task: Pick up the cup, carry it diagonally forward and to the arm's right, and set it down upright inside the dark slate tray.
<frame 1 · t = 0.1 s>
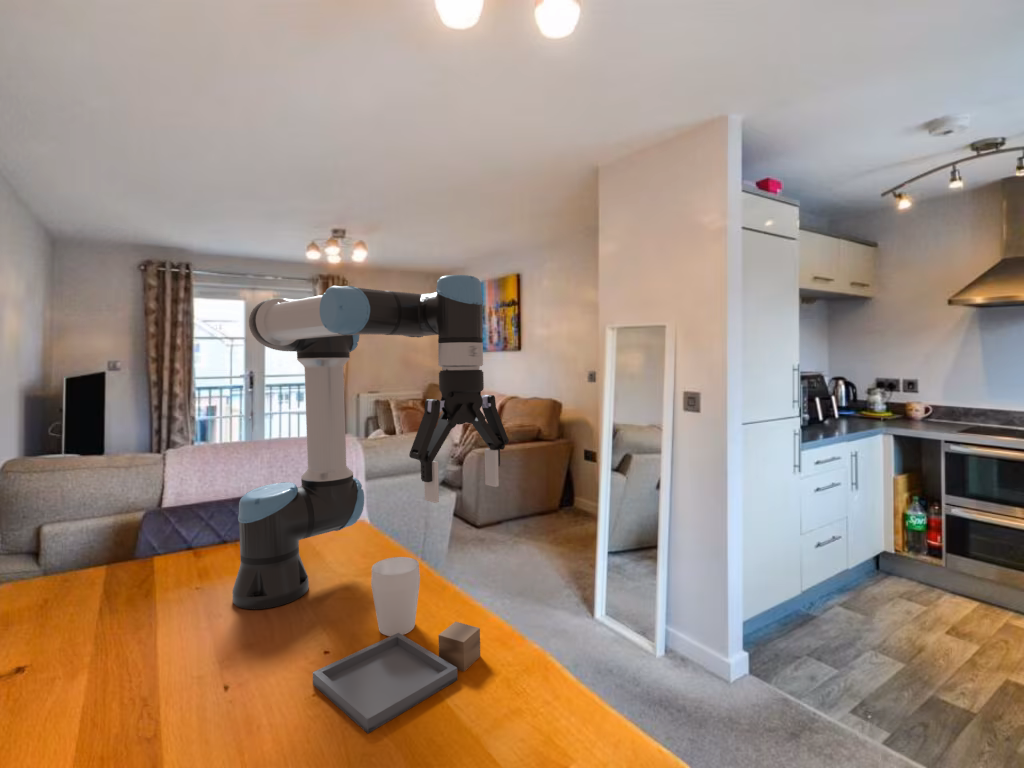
hand: (463, 493, 89), 28 cm above the table, fingers open, 13 cm apart
walnut cube: (460, 660, 88), on the table
cup: (397, 628, 99), on the table
tray: (385, 682, 82), on the table
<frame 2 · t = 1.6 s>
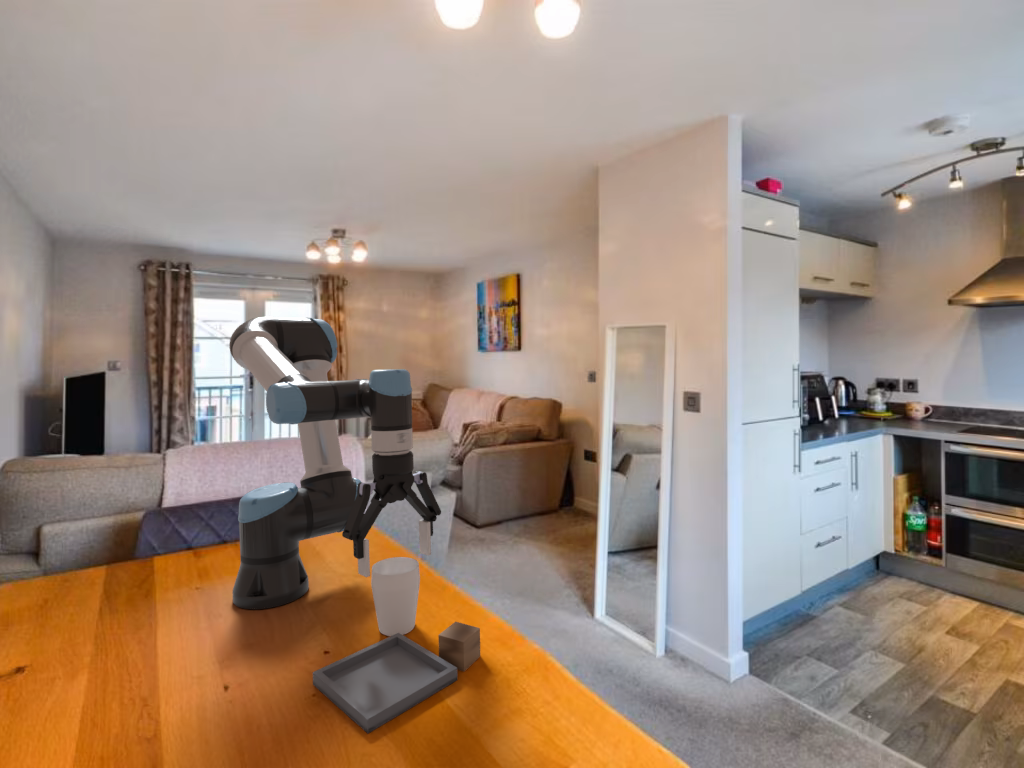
hand: (396, 563, 98), 12 cm above the table, fingers open, 13 cm apart
nothing on the table moved.
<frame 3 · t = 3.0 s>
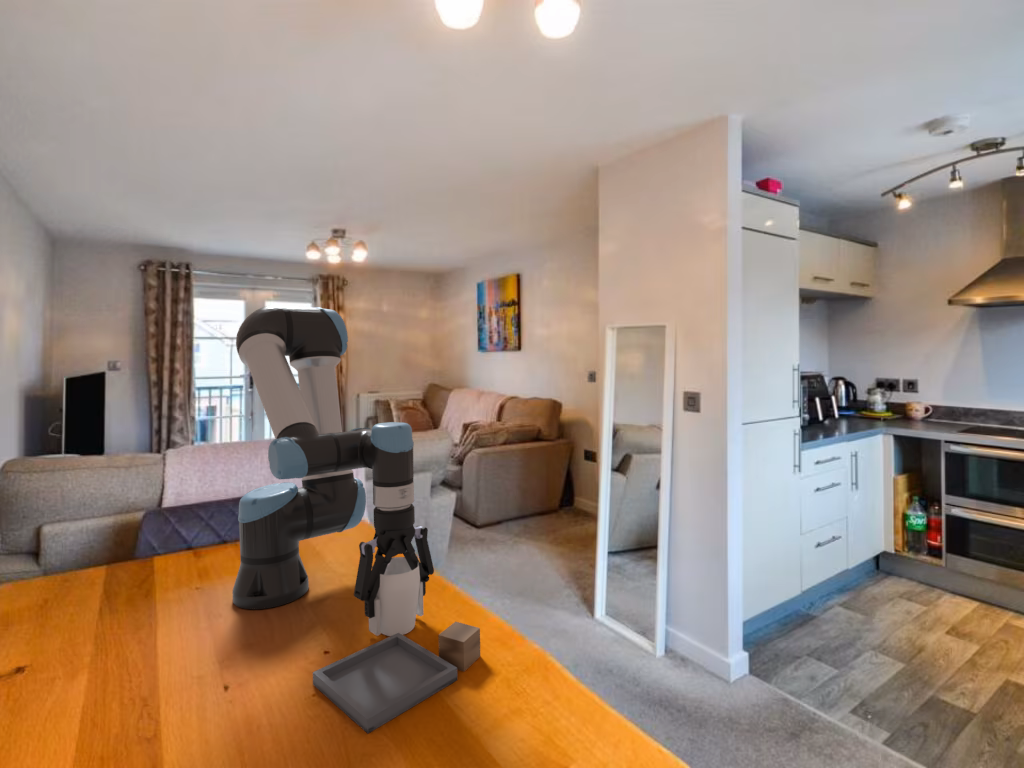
hand: (397, 622, 99), 1 cm above the table, fingers closed on cup, 9 cm apart
cup: (397, 628, 99), on the table, touching gripper
everything else where it was.
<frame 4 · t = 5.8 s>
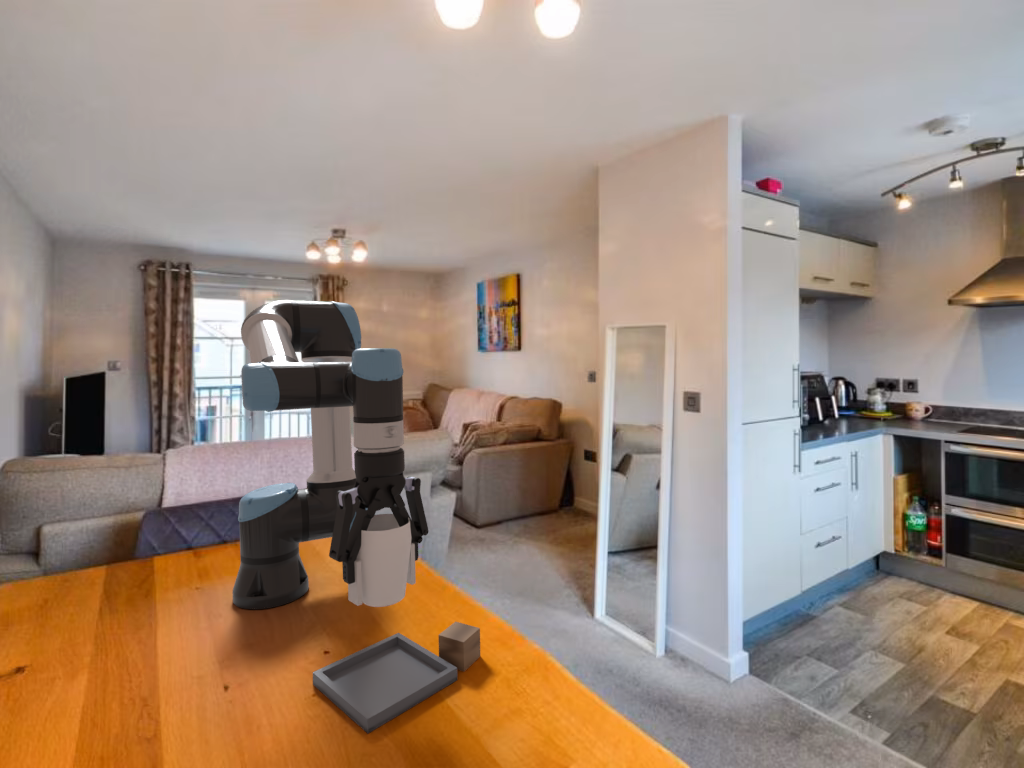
hand: (383, 591, 82), 15 cm above the table, fingers closed on cup, 9 cm apart
cup: (383, 598, 82), point 13 cm above the table, touching gripper
everything else where it was.
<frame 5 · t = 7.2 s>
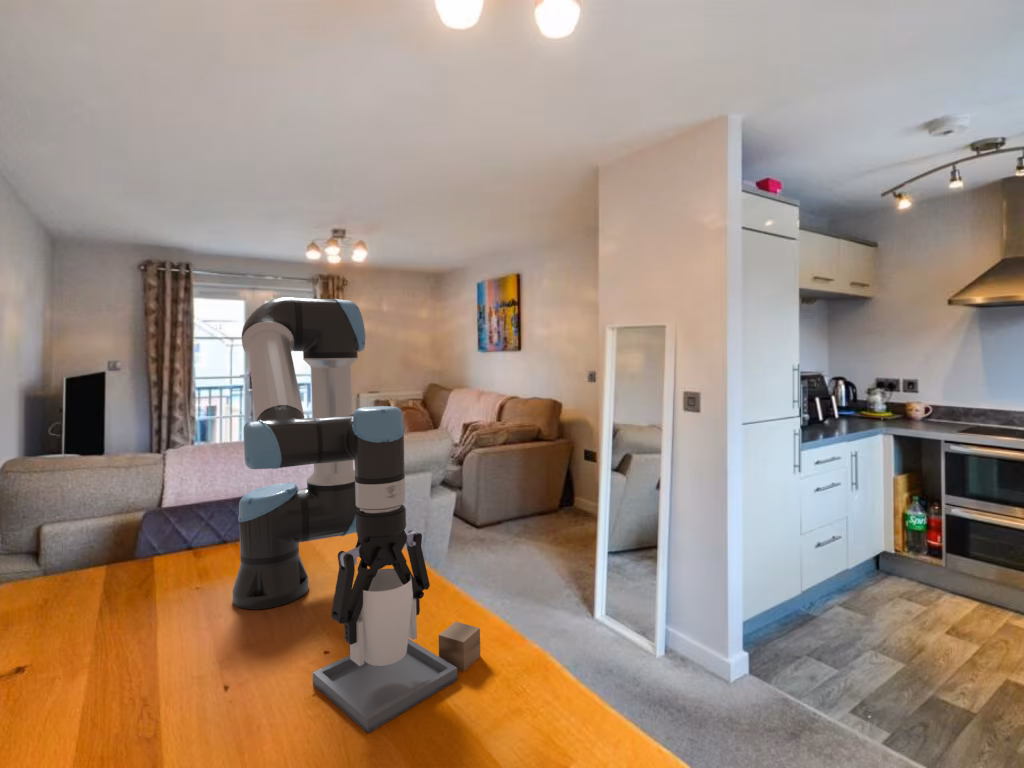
hand: (384, 648, 82), 6 cm above the table, fingers closed on cup, 9 cm apart
cup: (385, 655, 82), point 4 cm above the table, touching gripper
everything else where it was.
when the fingers open (3 cm above the table, at t = 8.4 s): cup drops 1 cm, resting on tray.
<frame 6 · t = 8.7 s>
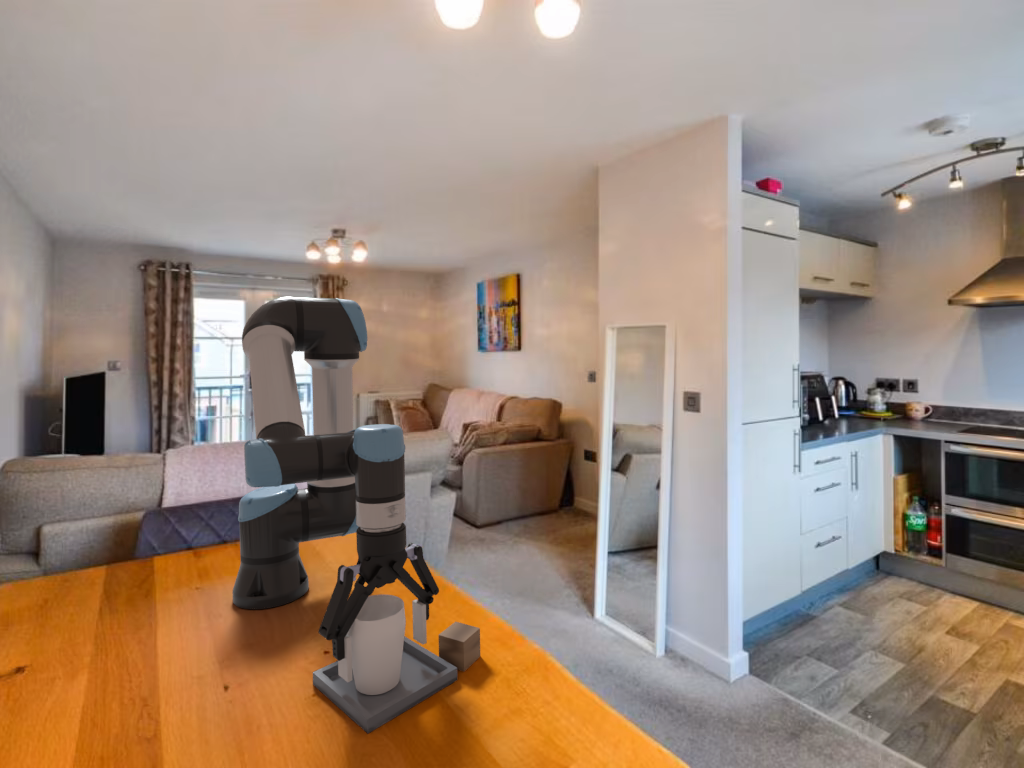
hand: (384, 658, 82), 4 cm above the table, fingers open, 13 cm apart
cup: (377, 683, 81), resting on tray
everything else where it was.
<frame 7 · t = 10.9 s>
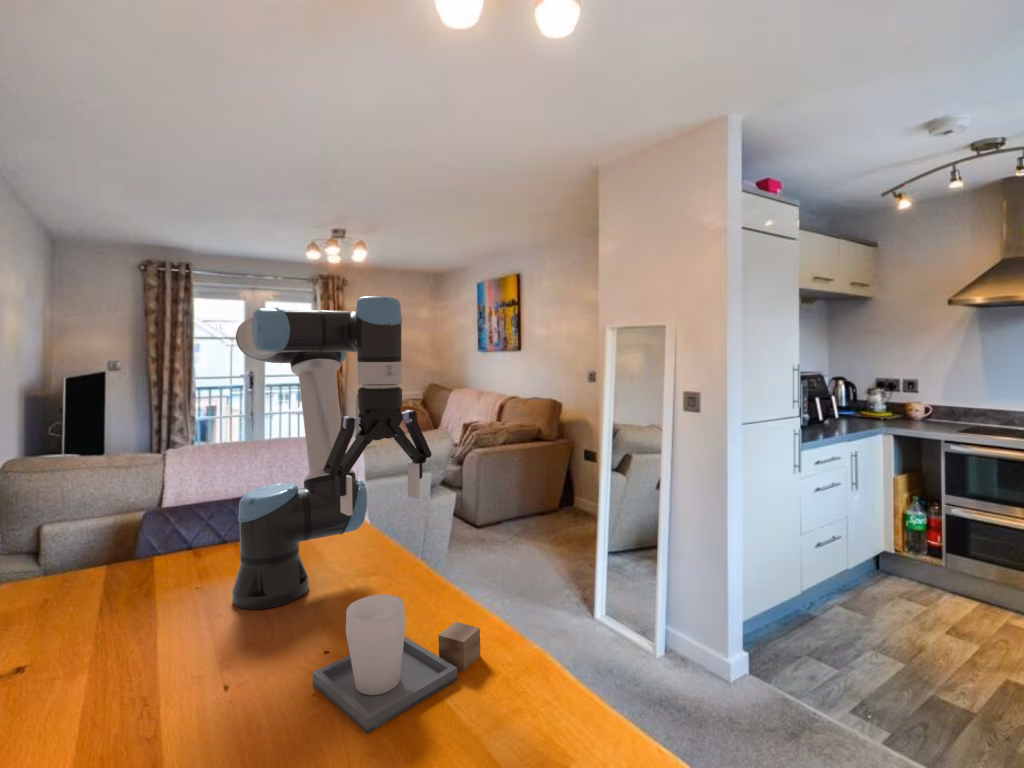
hand: (381, 505, 93), 25 cm above the table, fingers open, 13 cm apart
nothing on the table moved.
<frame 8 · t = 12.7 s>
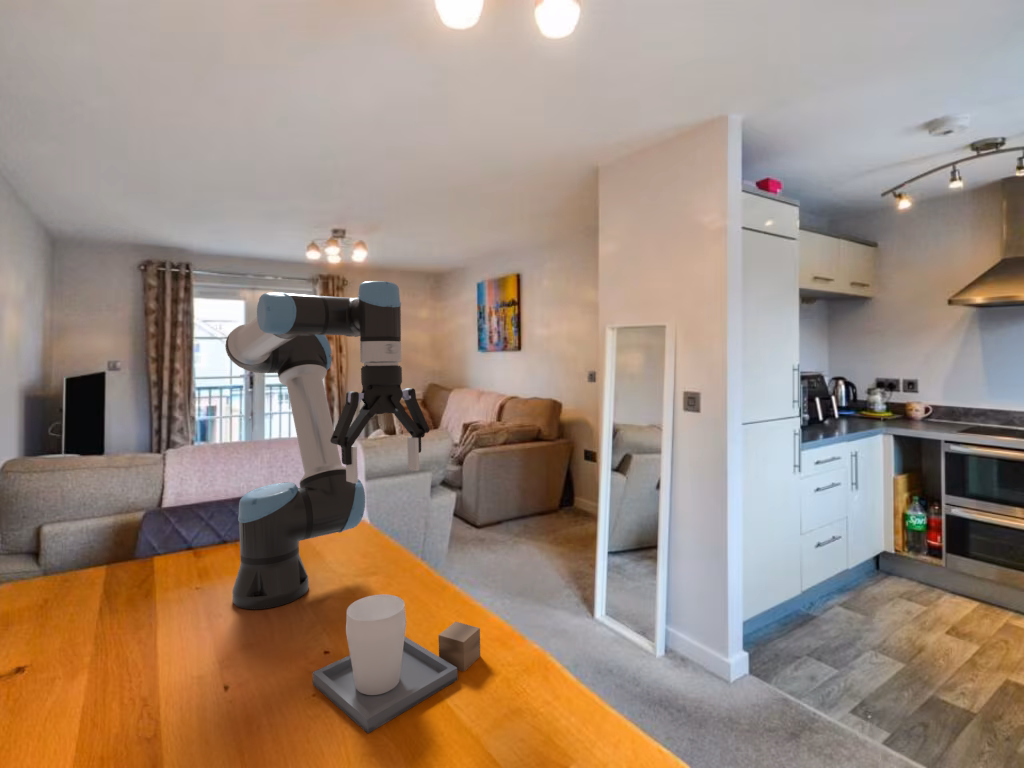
hand: (384, 475, 100), 29 cm above the table, fingers open, 13 cm apart
nothing on the table moved.
at the end: cup inside the target area on the tray (1.4 cm from its centre), point 0.4 cm above the tray's base; cup tilted 0°; the gripper is holding nothing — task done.
